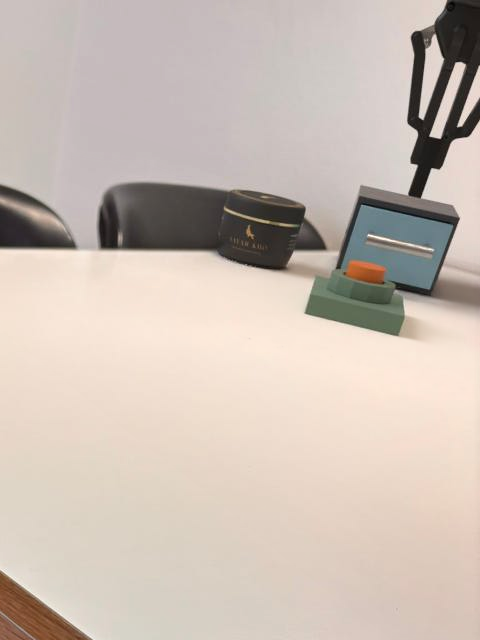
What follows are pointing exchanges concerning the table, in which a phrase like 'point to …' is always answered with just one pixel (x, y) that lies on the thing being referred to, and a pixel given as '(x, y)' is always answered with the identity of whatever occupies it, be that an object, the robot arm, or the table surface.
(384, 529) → the table surface
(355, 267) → the button
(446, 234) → the drawer
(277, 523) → the table surface
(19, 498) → the table surface
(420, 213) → the drawer cabinet
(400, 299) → the panel
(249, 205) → the jar
